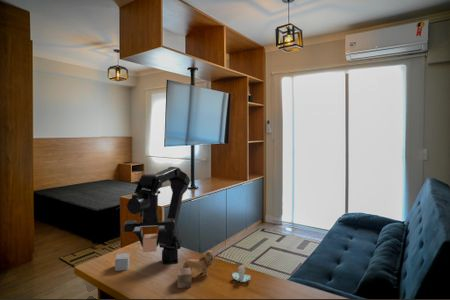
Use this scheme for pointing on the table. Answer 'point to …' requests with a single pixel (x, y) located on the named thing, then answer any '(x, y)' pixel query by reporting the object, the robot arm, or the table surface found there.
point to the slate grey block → (122, 262)
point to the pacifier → (241, 275)
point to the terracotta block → (149, 242)
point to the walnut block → (184, 277)
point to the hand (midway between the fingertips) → (150, 246)
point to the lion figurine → (201, 262)
